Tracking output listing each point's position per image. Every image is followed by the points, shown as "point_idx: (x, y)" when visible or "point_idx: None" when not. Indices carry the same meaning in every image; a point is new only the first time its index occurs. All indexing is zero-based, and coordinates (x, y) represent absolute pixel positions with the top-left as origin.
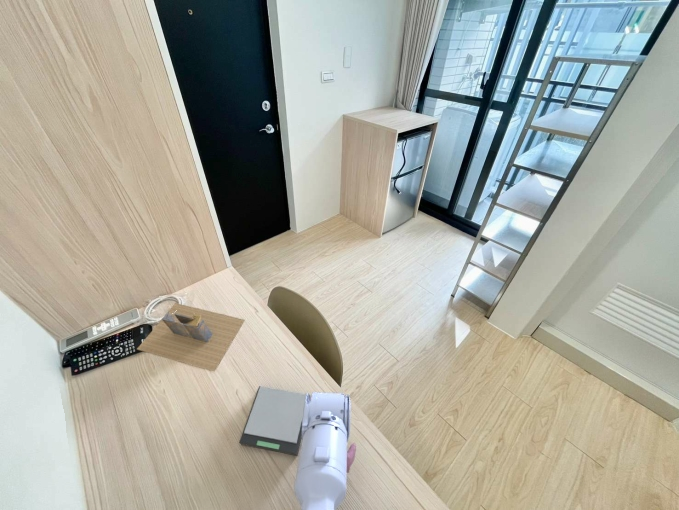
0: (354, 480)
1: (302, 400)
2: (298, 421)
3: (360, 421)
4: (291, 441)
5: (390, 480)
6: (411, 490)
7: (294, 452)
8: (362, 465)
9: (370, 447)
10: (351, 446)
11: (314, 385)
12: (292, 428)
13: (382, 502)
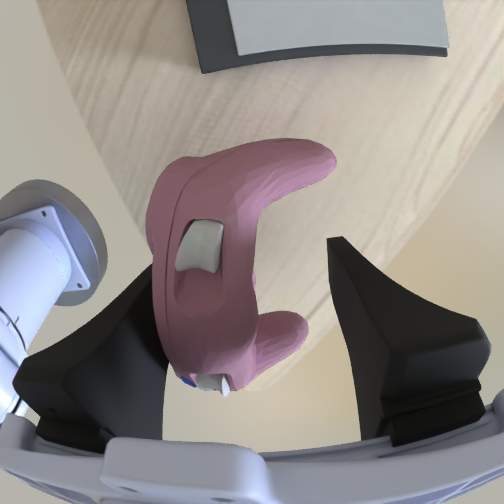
0: None
1: (421, 28)
2: (330, 31)
3: (383, 258)
4: (235, 32)
5: None
6: None
7: (203, 62)
8: (265, 289)
9: (316, 298)
10: (290, 346)
11: (471, 65)
12: (291, 14)
13: None
